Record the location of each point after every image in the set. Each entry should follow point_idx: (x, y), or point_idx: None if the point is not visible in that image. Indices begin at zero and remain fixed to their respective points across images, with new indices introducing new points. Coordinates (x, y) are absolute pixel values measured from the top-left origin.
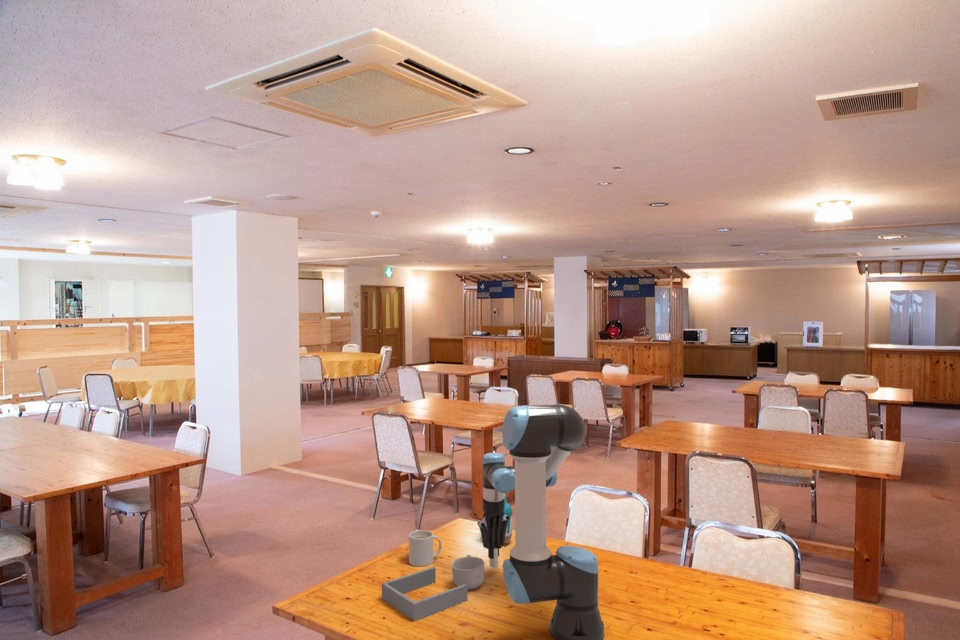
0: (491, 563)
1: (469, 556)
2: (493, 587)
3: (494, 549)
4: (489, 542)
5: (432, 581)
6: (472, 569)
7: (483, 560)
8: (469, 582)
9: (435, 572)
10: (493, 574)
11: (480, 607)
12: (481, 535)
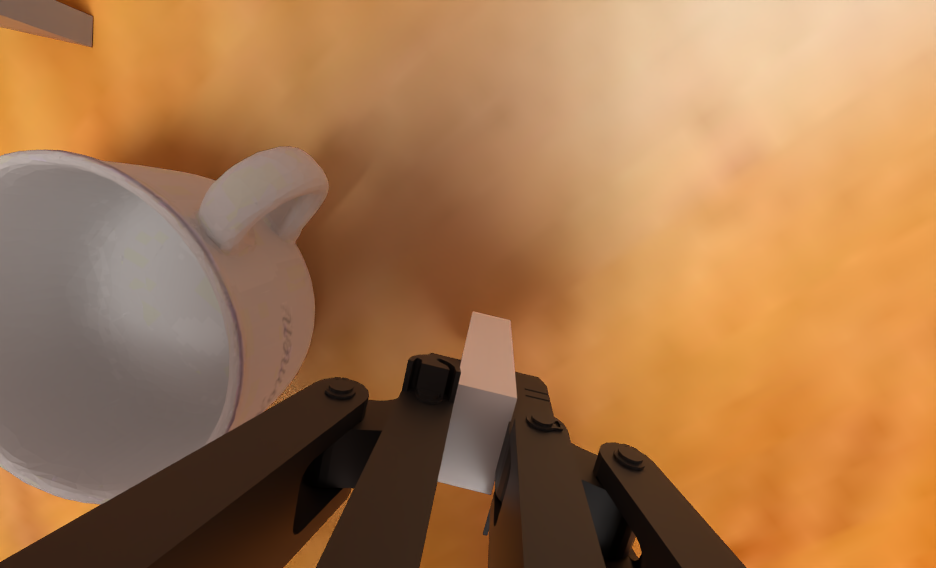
0: (464, 346)
1: (221, 224)
2: None
3: (440, 472)
4: (296, 548)
5: (44, 35)
6: (3, 467)
7: None
8: (98, 388)
9: (1, 15)
10: (495, 316)
11: (88, 508)
12: (113, 507)
